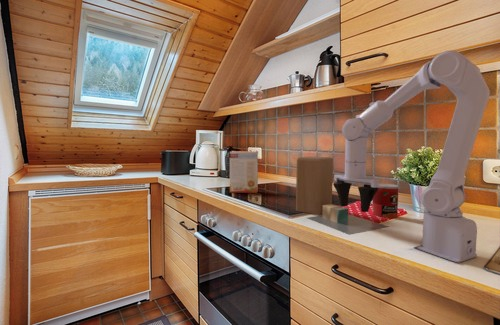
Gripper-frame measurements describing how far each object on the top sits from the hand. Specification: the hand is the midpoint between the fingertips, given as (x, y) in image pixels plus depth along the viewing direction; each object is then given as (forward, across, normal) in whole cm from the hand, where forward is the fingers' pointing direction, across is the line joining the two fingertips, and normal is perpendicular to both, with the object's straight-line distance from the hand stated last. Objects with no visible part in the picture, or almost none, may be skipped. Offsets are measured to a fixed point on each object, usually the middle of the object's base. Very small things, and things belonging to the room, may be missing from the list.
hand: (354, 208), depth 79 cm
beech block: (+3, +4, 0) cm, 5 cm away
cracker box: (+6, +69, +3) cm, 69 cm away
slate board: (+6, +4, -1) cm, 7 cm away
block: (+6, +20, -2) cm, 21 cm away
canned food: (+6, +5, -20) cm, 21 cm away
